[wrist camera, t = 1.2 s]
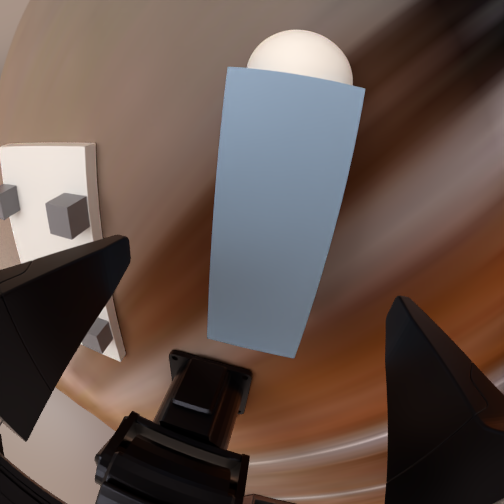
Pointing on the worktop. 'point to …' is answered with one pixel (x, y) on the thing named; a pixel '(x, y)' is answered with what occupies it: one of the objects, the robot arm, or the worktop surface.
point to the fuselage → (279, 188)
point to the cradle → (57, 213)
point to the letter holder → (262, 500)
